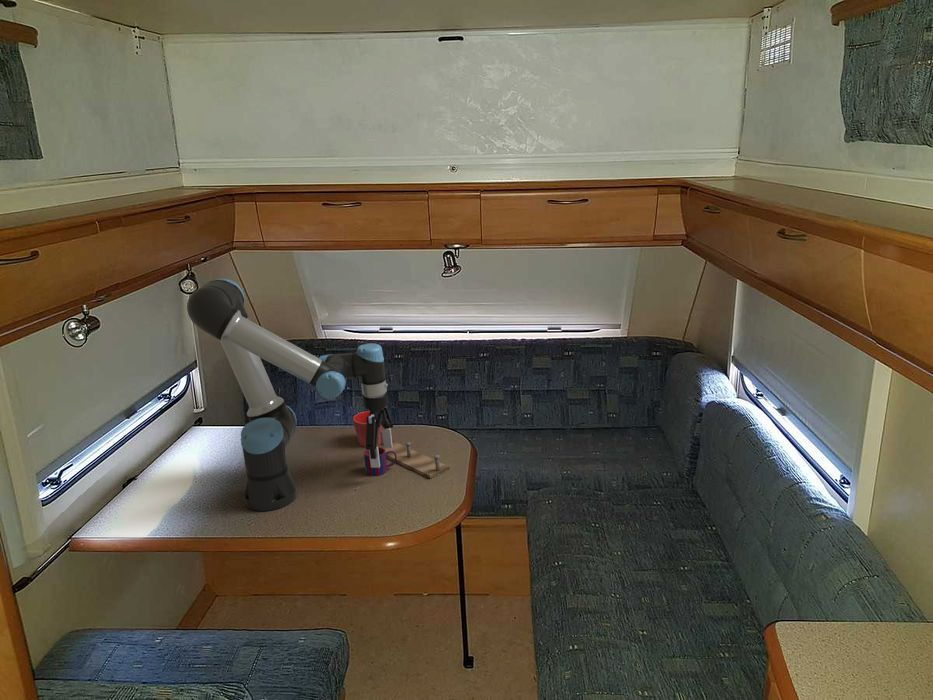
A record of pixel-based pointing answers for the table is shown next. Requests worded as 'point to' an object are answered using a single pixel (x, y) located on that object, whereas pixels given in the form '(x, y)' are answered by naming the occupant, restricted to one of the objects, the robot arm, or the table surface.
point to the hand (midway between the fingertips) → (382, 456)
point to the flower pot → (363, 427)
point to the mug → (383, 464)
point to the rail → (414, 459)
